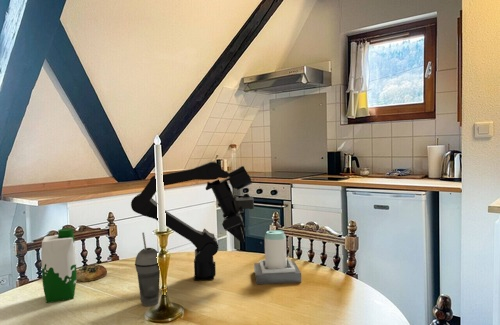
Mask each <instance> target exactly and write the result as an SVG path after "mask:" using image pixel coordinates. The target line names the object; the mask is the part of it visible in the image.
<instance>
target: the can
mask: <svg viewBox="0 0 500 325" xmlns="http://www.w3.org/2000/svg"><path fill="white" fill-rule="evenodd" d="M287 257H288V256H287V236H286V234H285V232H284V231H283V230H280V229H271V230H267V231H266V232H265V235H264V260H265V266H266V268H268V269H278V268H285V267H286V266H287V259H288V258H287Z"/></svg>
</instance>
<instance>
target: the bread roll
mask: <svg viewBox="0 0 500 325" xmlns="http://www.w3.org/2000/svg"><path fill="white" fill-rule="evenodd" d="M76 270H77V277H76V282H84V283H85V282H88V283H89V282H94V281H98V280H100V279H102V278H104V277H106V276H107V273H108V271H107V268H106V267H105V266H104V265H102V264H97V265H96V264H88V265H84V266H82V267H80V268H79V269H76Z"/></svg>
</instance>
